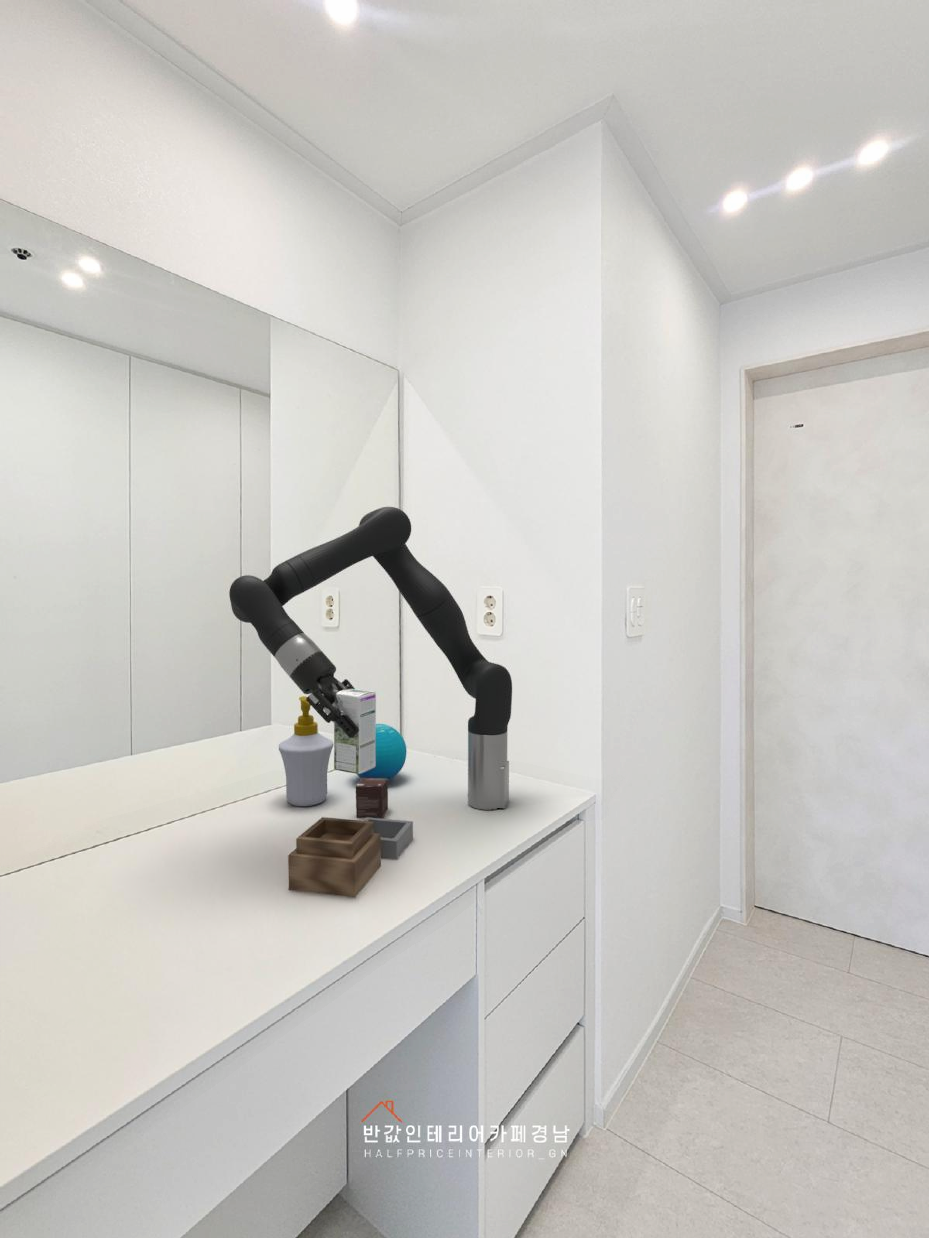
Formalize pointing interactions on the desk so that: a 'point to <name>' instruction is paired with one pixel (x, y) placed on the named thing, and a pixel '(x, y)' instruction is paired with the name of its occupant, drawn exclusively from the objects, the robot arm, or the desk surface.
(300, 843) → the walnut raised dock
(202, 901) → the desk surface
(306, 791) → the soap bottle
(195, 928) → the desk surface
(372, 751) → the syrup box
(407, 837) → the charcoal collar
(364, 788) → the box
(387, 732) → the decorative orb
